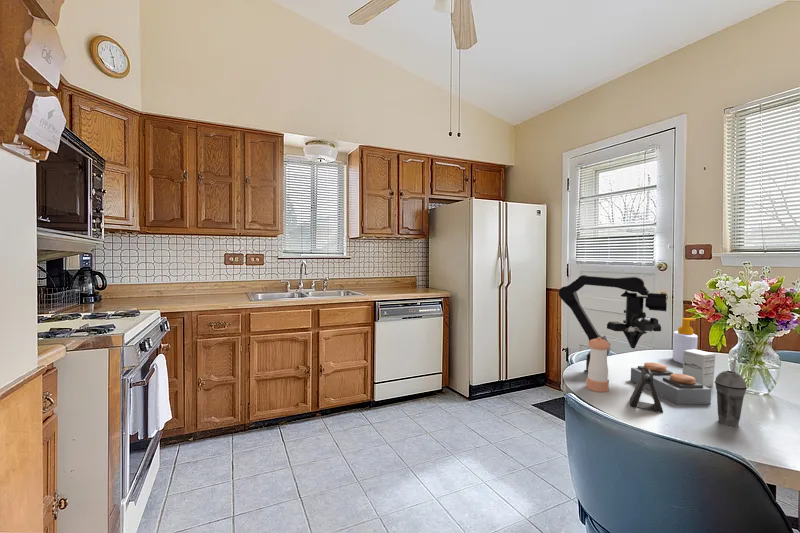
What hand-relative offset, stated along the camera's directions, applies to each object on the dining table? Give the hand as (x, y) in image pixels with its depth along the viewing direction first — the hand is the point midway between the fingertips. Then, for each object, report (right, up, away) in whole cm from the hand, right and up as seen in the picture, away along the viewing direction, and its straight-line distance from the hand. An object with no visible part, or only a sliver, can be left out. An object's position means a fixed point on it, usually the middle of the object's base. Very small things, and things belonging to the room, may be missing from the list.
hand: (632, 348), depth 148 cm
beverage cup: (+7, -15, -35) cm, 39 cm away
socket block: (+6, -14, -10) cm, 18 cm away
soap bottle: (+41, -13, +27) cm, 51 cm away
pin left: (+6, -12, -4) cm, 14 cm away
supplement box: (+24, -14, -2) cm, 28 cm away
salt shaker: (-18, -13, -8) cm, 24 cm away
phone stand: (-11, -14, -24) cm, 30 cm away
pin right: (+7, -13, -17) cm, 22 cm away
